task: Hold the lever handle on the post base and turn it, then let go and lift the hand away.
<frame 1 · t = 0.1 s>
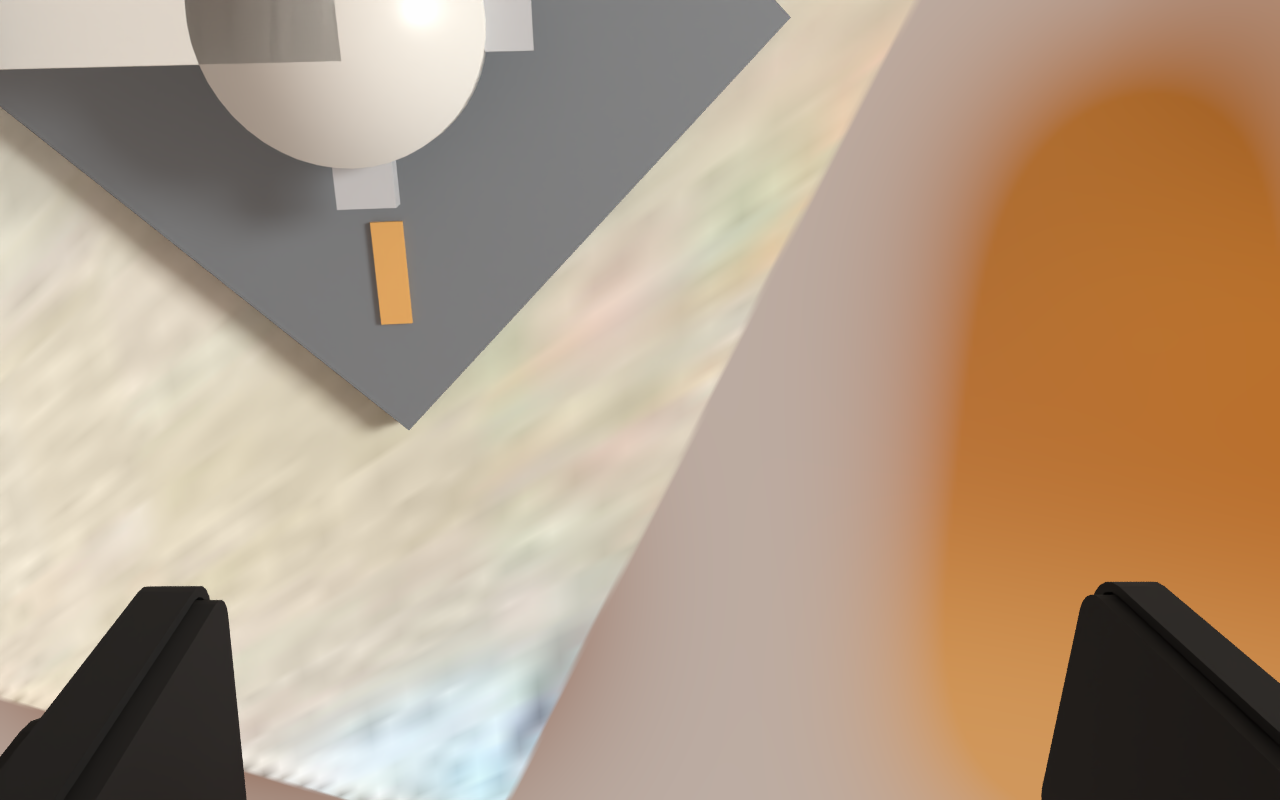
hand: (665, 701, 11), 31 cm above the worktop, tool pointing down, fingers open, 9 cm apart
post base: (372, 27, 37), on the worktop
lever handle: (191, 47, 29), point 9 cm above the worktop, hinge at 0.0°
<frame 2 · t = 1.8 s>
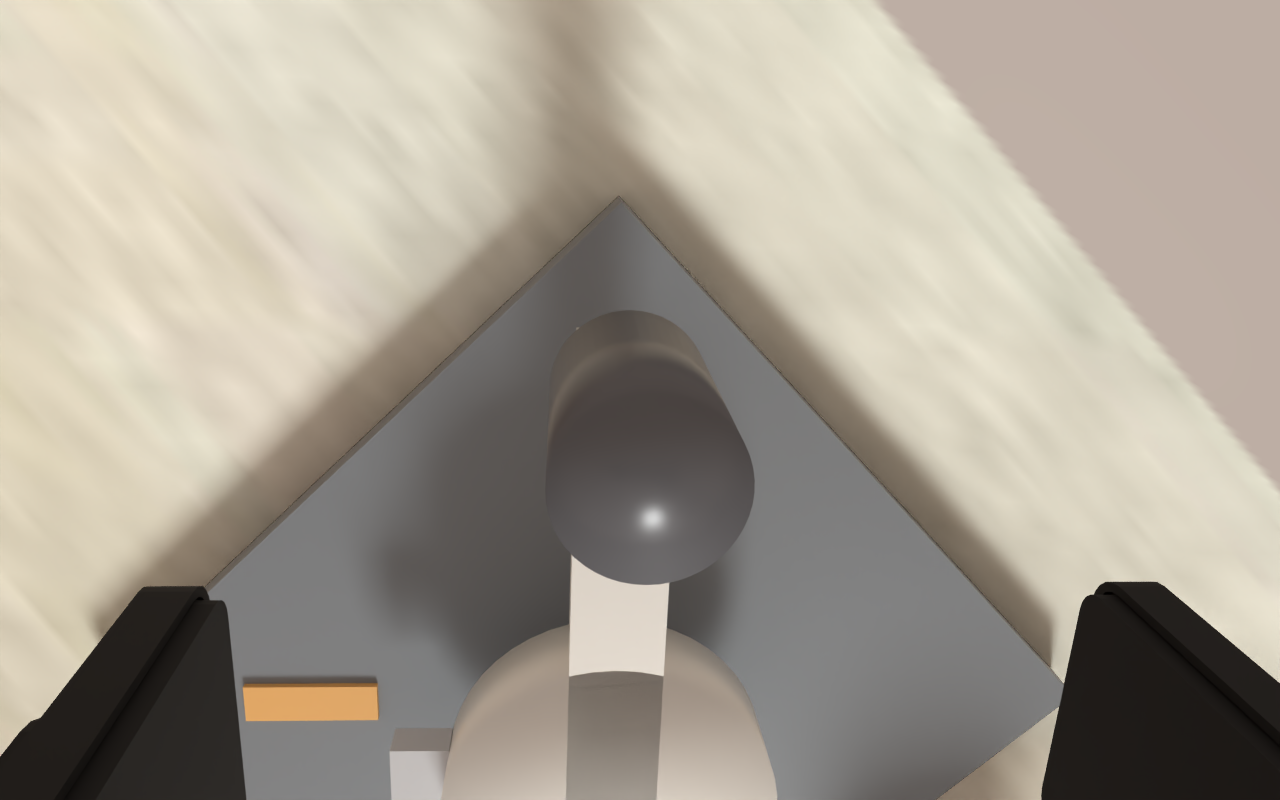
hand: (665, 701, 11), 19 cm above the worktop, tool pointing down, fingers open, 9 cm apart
post base: (601, 671, 33), on the worktop
lever handle: (587, 735, 23), point 9 cm above the worktop, hinge at 0.0°
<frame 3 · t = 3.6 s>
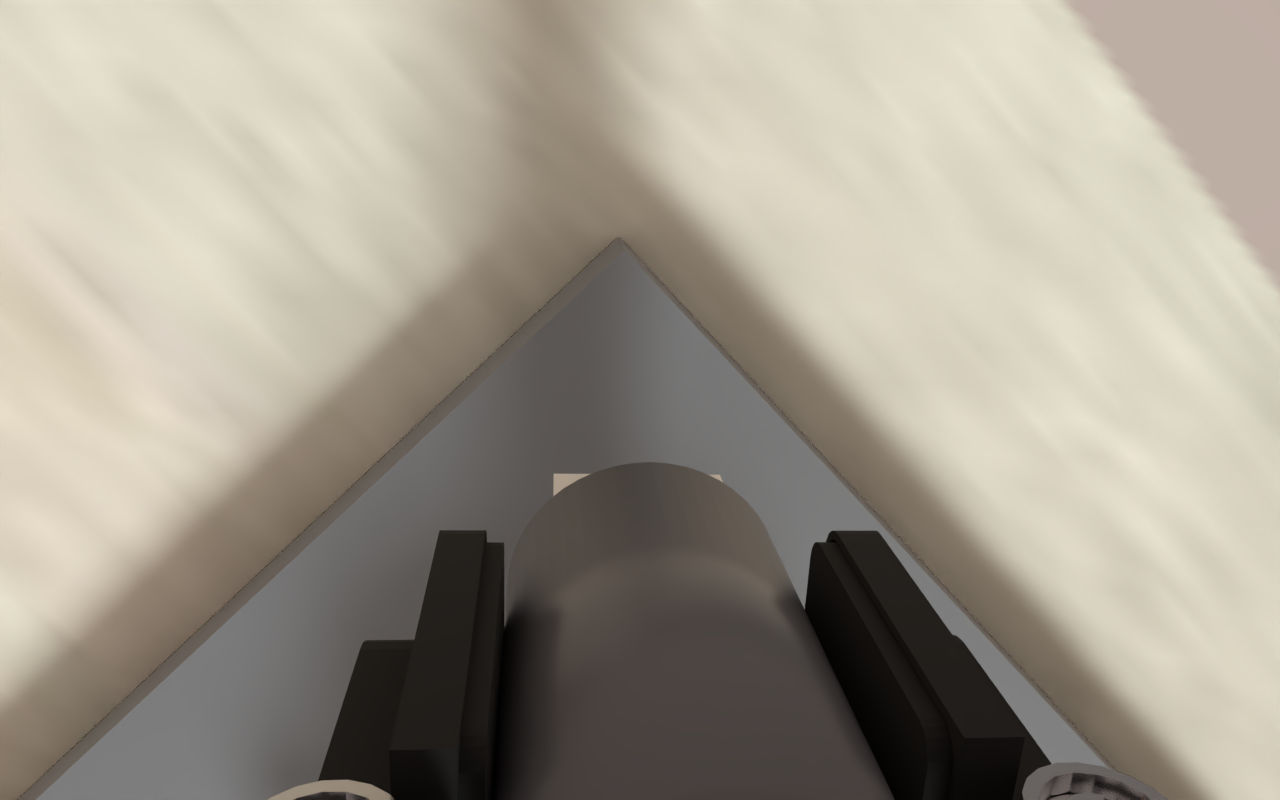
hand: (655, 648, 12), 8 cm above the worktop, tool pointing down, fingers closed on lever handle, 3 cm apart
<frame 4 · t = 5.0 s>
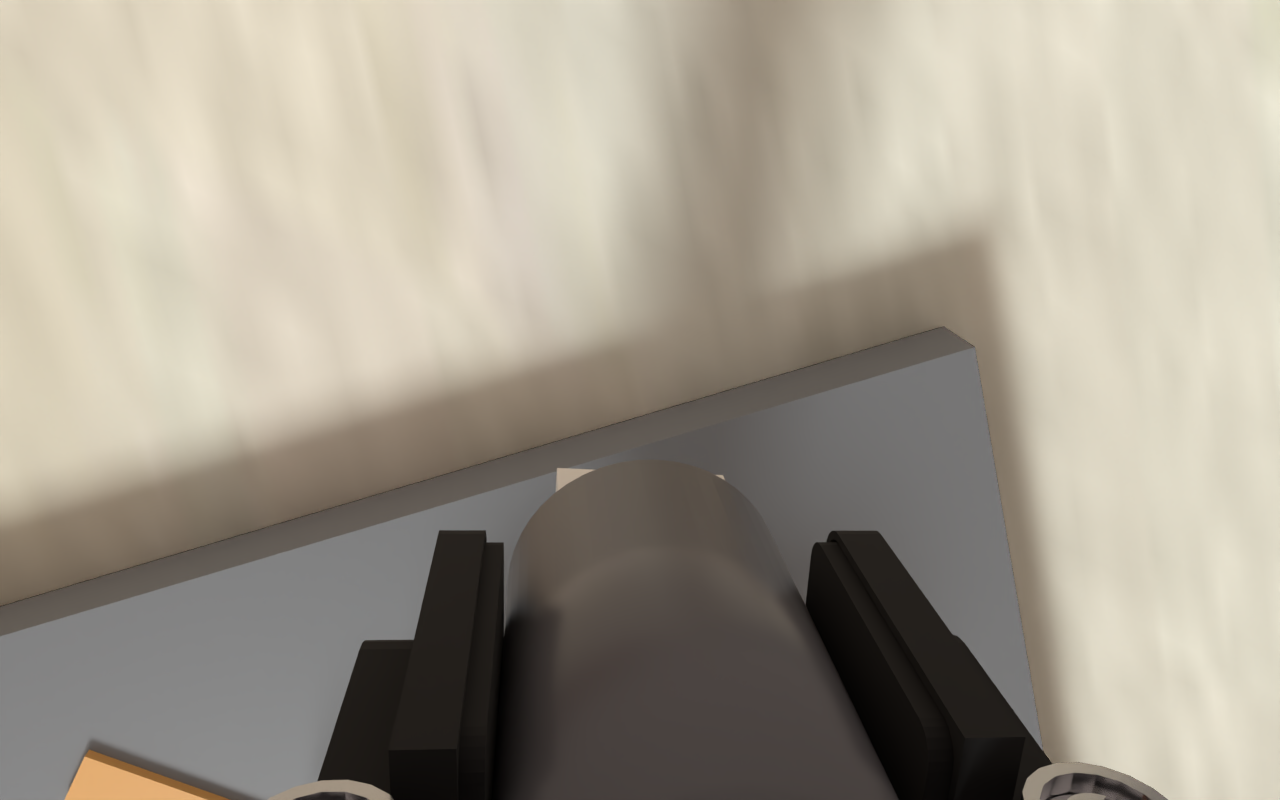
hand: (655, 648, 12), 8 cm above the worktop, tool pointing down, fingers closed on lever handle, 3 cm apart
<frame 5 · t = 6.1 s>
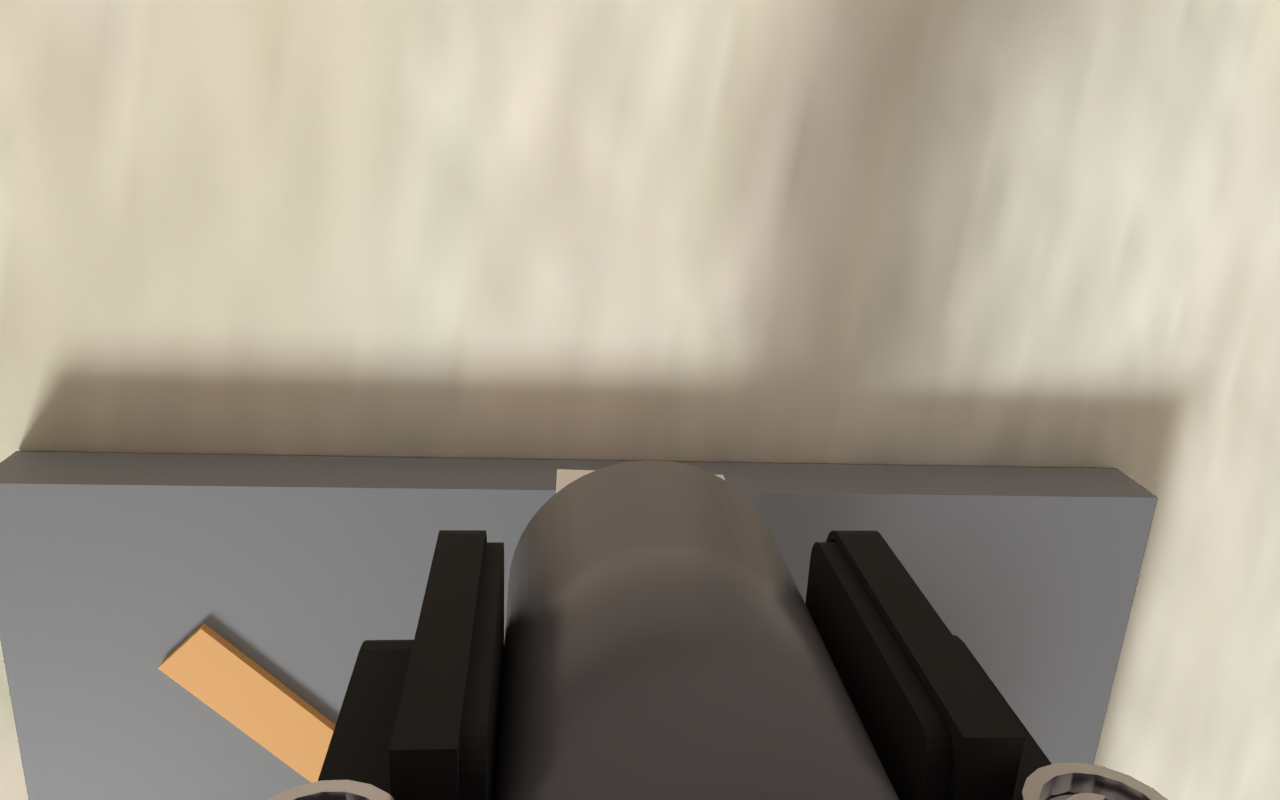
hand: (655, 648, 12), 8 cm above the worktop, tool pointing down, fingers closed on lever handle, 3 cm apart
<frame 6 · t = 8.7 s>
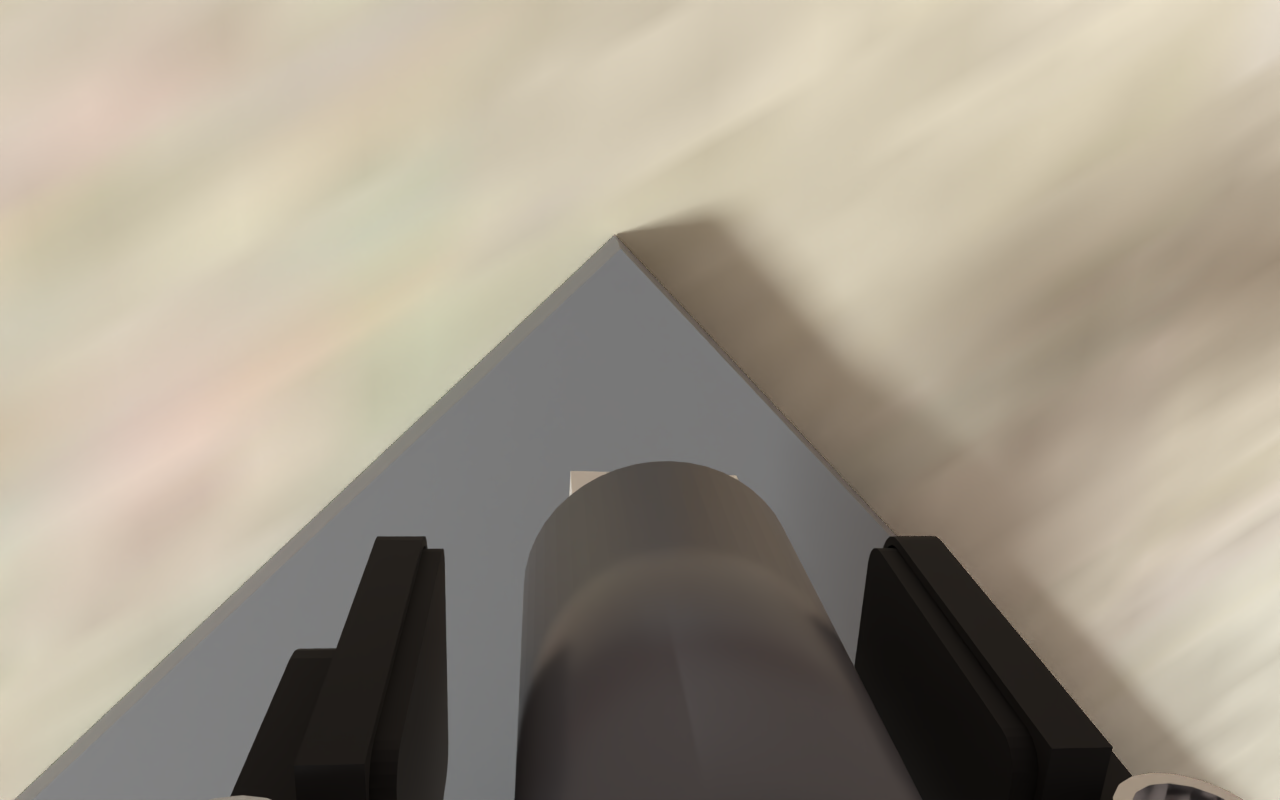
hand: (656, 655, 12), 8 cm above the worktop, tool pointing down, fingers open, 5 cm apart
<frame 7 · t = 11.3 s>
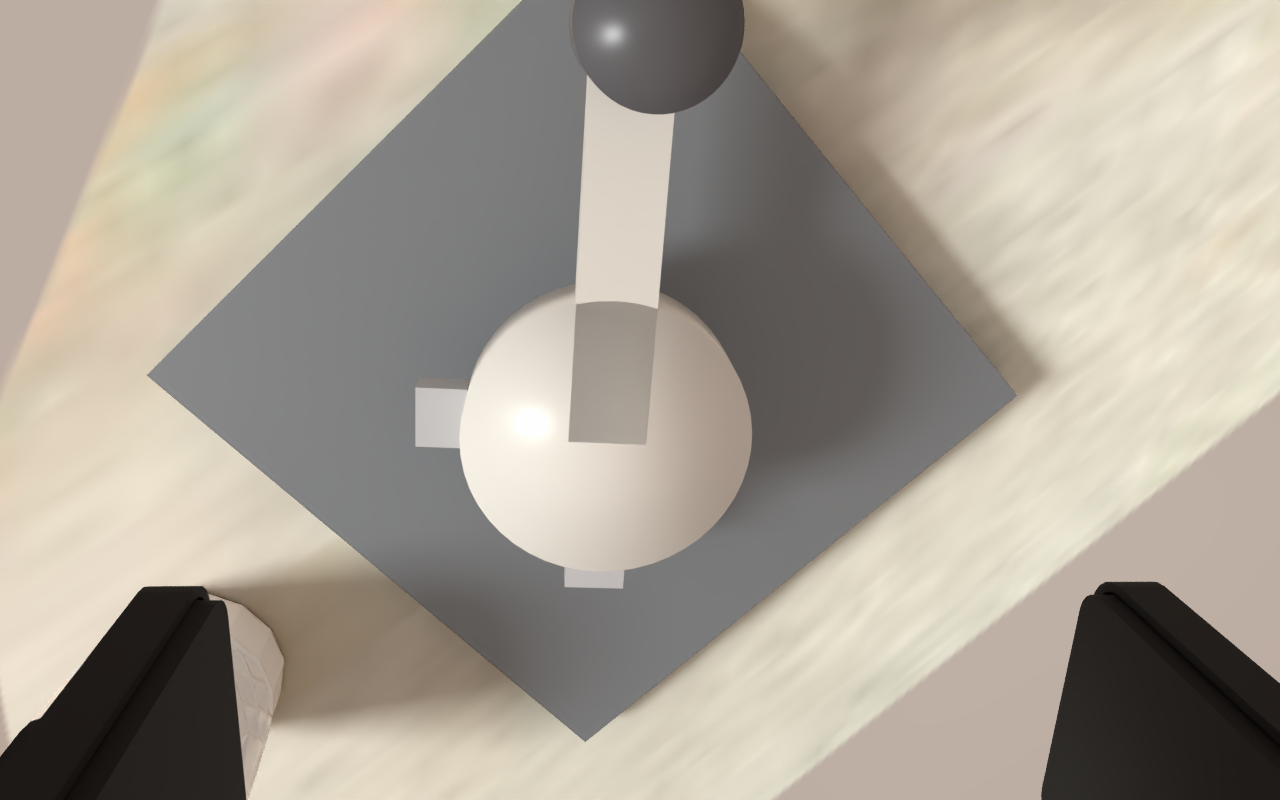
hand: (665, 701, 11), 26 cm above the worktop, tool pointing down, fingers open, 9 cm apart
white cup: (200, 659, 40), on the worktop
post base: (598, 372, 37), on the worktop
lever handle: (592, 336, 27), point 9 cm above the worktop, hinge at 88.7°
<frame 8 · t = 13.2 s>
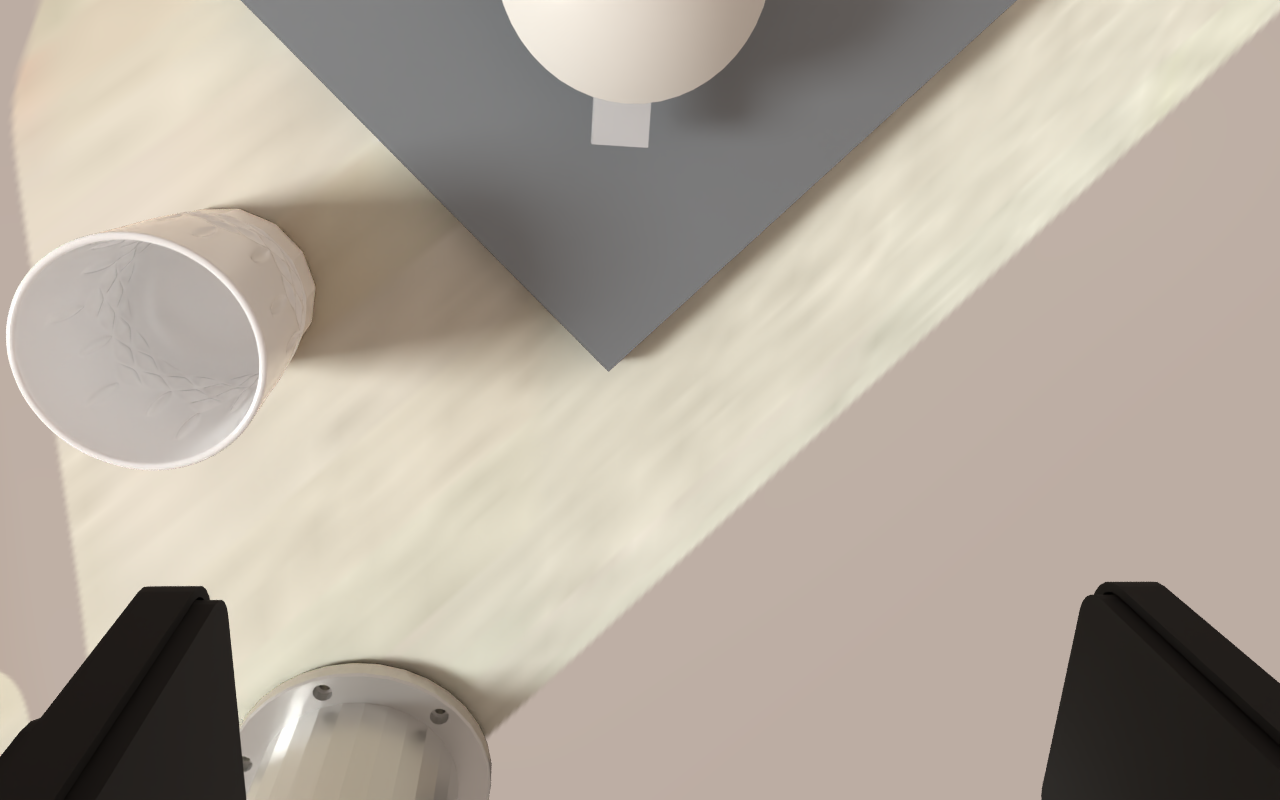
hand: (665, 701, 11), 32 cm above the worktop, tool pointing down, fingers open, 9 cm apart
white cup: (234, 288, 41), on the worktop
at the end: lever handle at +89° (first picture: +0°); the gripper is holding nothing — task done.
